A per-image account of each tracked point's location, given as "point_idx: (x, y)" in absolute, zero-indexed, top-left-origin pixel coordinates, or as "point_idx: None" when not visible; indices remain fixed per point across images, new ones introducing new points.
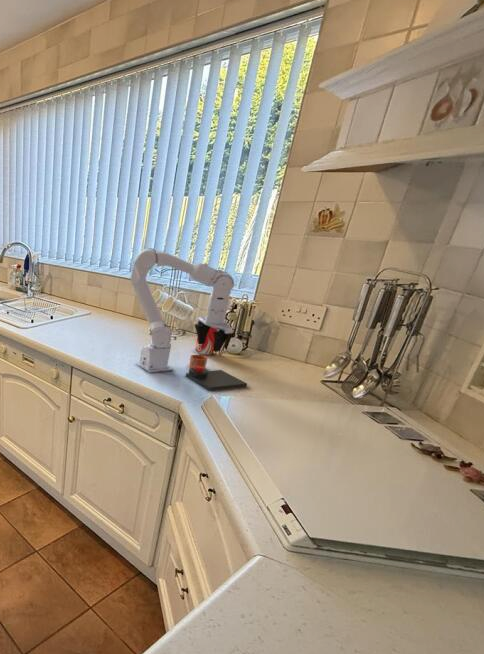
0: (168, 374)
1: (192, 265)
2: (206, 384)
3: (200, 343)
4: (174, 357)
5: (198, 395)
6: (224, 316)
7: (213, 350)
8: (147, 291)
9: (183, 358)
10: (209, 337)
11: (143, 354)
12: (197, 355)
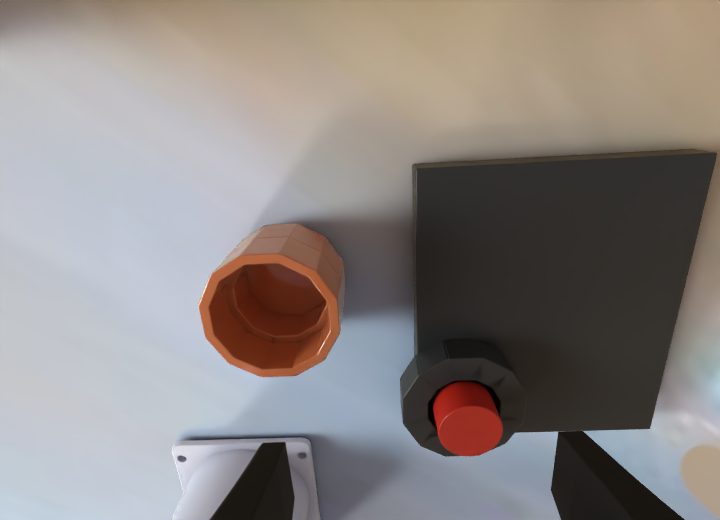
0: (361, 477)
1: None
2: (608, 425)
3: (292, 495)
4: (60, 300)
5: (650, 482)
6: None
7: (554, 494)
8: None
9: (78, 247)
10: None
11: None
12: (213, 295)
